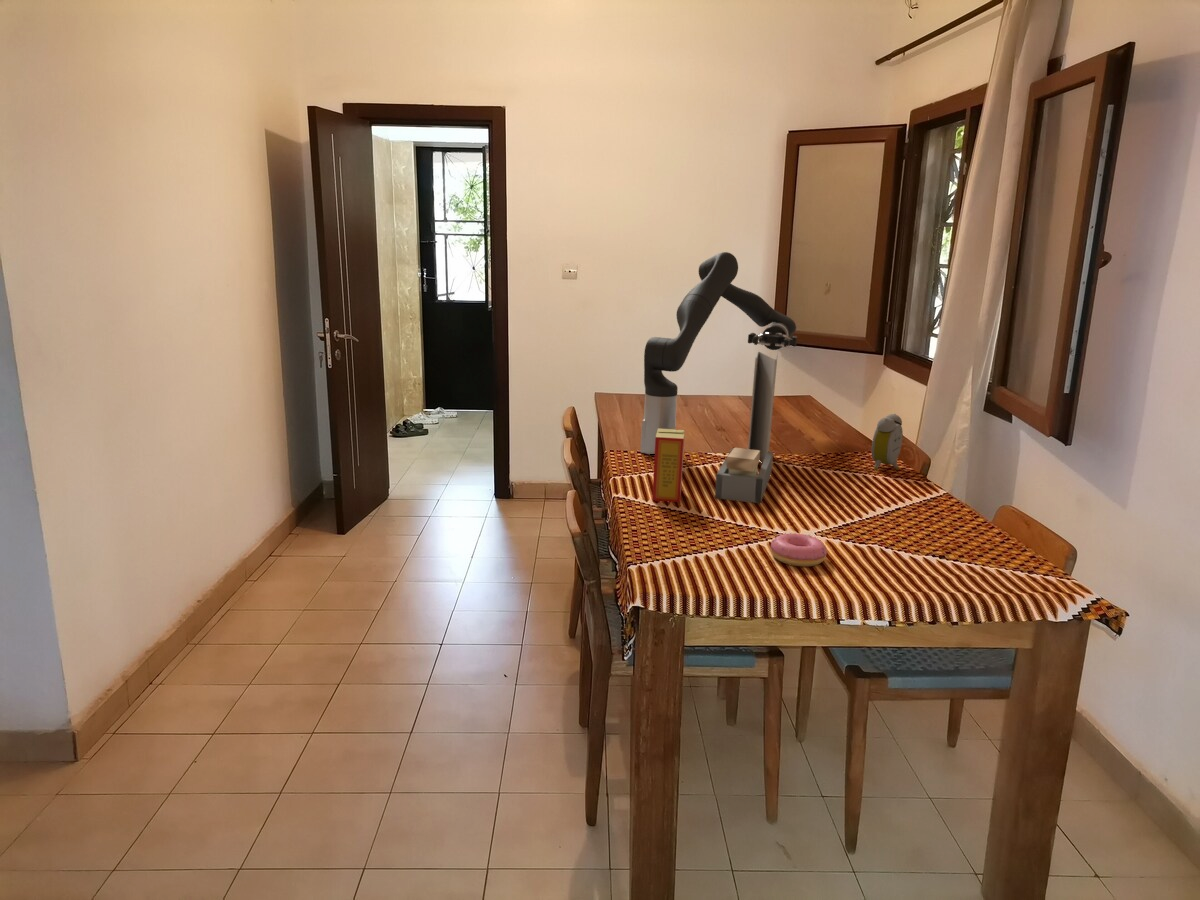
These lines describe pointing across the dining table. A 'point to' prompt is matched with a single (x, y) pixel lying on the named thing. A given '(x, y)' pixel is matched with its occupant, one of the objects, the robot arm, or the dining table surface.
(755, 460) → the offcut stack
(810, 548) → the doughnut
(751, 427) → the brochure
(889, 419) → the alarm clock
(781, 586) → the dining table surface
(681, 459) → the baking soda box
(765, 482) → the rack
